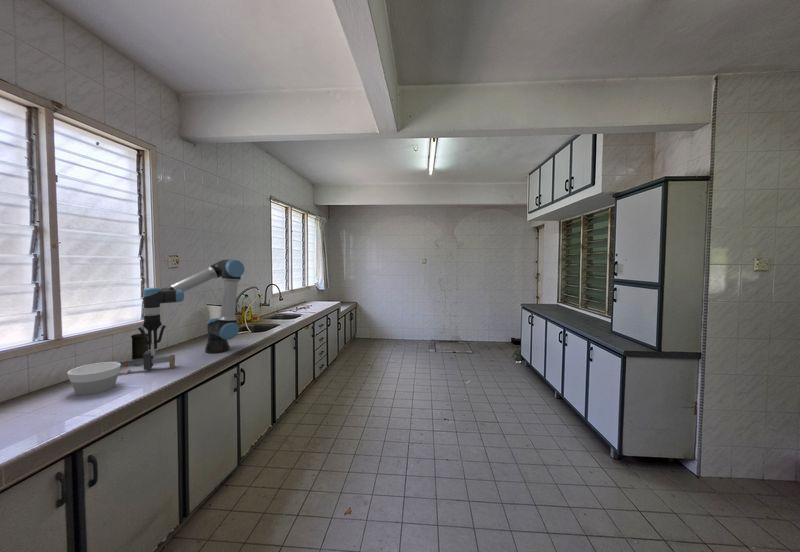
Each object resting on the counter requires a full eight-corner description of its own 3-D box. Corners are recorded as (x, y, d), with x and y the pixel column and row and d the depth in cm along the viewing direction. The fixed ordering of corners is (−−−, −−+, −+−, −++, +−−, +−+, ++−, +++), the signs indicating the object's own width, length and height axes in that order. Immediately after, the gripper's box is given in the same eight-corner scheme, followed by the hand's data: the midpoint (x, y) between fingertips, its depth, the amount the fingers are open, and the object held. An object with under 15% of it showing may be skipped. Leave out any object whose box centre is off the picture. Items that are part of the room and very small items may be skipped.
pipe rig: (175, 365, 196) (175, 353, 196) (173, 369, 188) (172, 357, 188) (111, 372, 182) (111, 359, 182) (106, 377, 174) (105, 364, 174)
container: (153, 361, 202) (153, 333, 201) (140, 366, 193) (140, 336, 192) (140, 361, 203) (139, 332, 202) (127, 365, 194) (126, 336, 193)
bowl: (128, 386, 162) (127, 365, 162) (75, 401, 146) (75, 377, 145) (112, 379, 172) (112, 359, 172) (62, 391, 156) (61, 369, 155)
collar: (153, 365, 190) (153, 350, 190) (150, 369, 183) (149, 353, 183) (147, 365, 189) (146, 350, 189) (143, 370, 182) (143, 354, 182)
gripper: (167, 312, 192) (167, 351, 193) (139, 314, 186) (140, 354, 187) (164, 314, 185) (165, 355, 187) (136, 316, 179) (137, 358, 181)
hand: (153, 354), depth 187 cm, fingers closed
